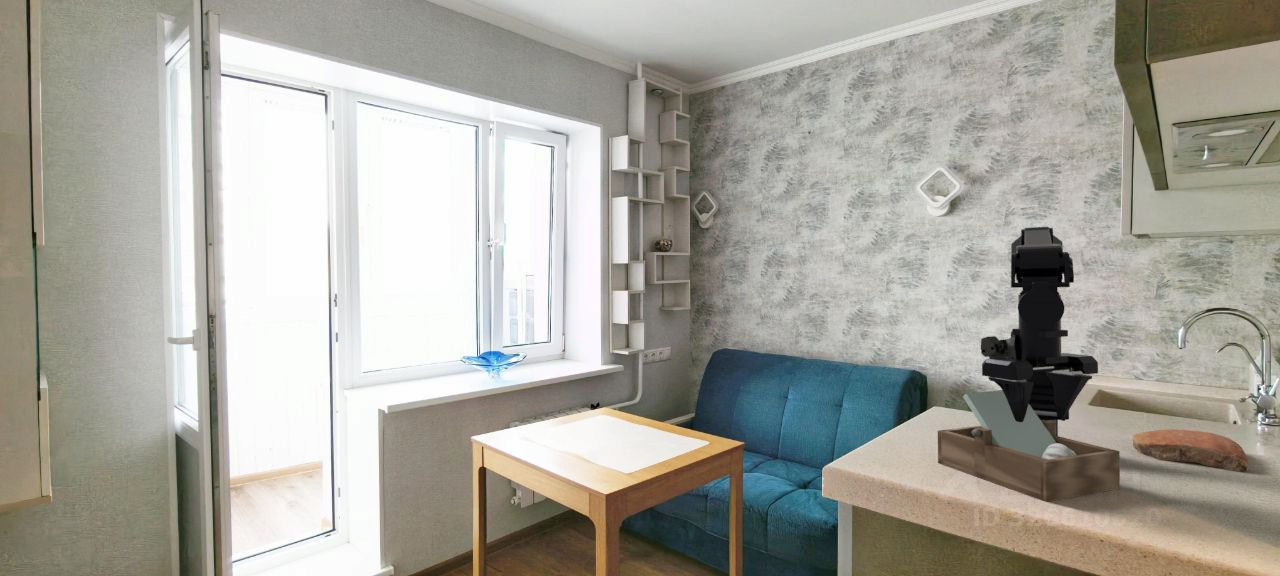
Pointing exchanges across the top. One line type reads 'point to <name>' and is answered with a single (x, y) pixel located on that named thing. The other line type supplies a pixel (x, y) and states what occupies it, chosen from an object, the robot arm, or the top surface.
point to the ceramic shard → (1192, 448)
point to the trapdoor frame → (1031, 464)
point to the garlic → (1057, 451)
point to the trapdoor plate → (1009, 423)
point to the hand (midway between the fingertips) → (1040, 419)
